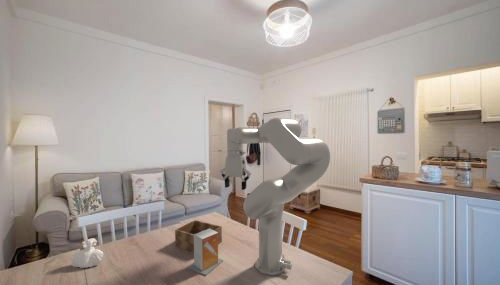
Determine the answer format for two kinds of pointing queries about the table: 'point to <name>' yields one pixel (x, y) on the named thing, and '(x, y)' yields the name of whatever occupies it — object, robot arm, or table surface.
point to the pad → (206, 271)
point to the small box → (205, 249)
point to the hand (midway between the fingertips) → (235, 188)
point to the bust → (87, 255)
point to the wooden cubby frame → (186, 233)
